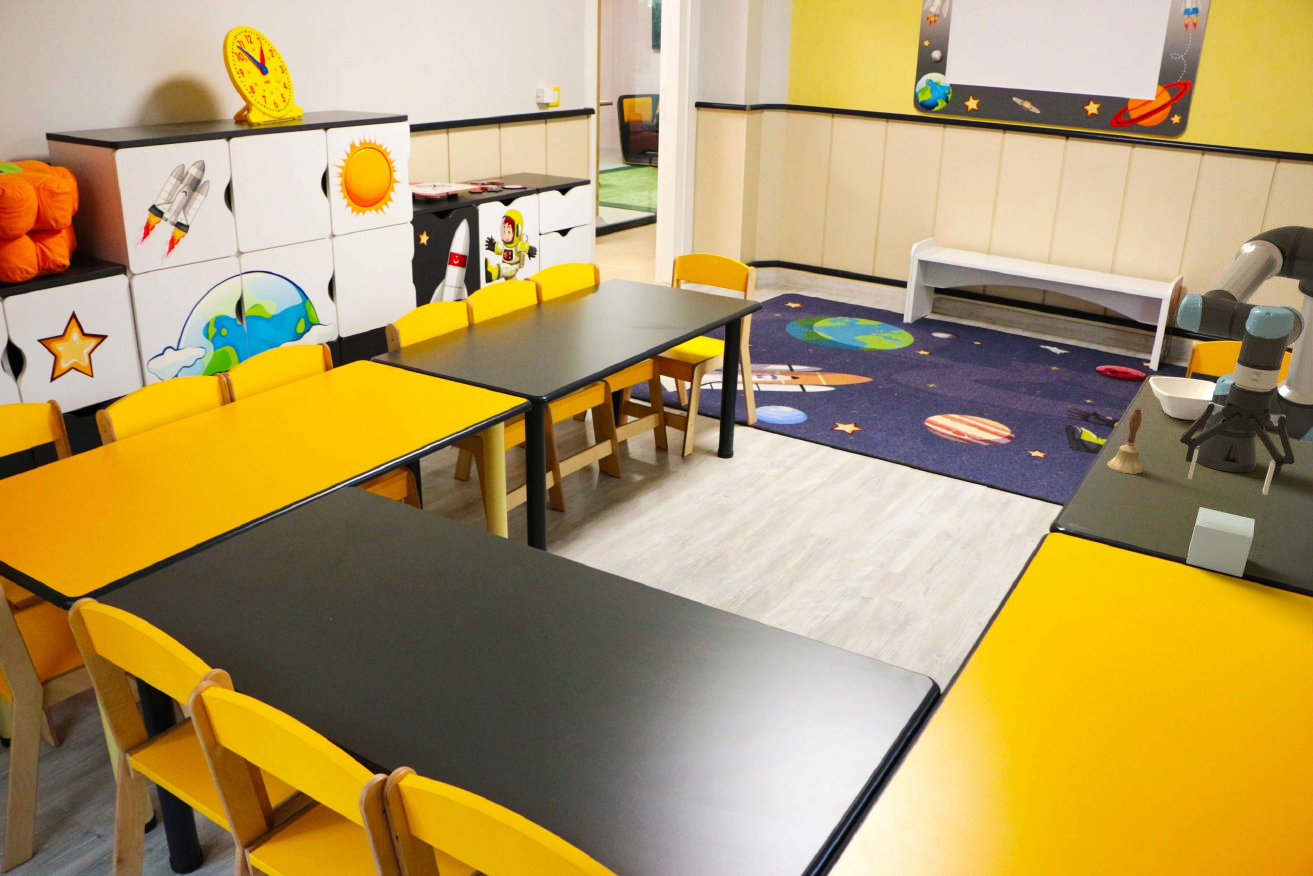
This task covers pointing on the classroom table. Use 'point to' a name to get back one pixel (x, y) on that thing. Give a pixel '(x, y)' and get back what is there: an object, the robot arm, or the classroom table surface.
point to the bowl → (1183, 396)
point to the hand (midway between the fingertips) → (1226, 484)
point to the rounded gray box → (1221, 541)
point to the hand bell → (1128, 449)
